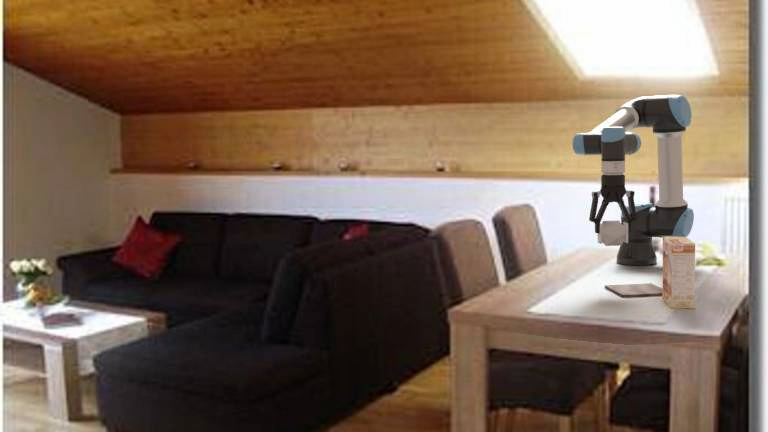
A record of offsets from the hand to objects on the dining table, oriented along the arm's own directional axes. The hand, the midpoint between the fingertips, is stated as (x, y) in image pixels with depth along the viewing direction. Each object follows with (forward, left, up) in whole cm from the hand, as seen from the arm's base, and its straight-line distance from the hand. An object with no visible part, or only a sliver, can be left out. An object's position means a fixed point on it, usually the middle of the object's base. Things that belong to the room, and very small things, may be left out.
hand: (612, 242), depth 267 cm
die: (0, 0, -1) cm, 1 cm away
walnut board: (-6, +6, -15) cm, 18 cm away
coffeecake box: (-11, +25, -16) cm, 32 cm away
